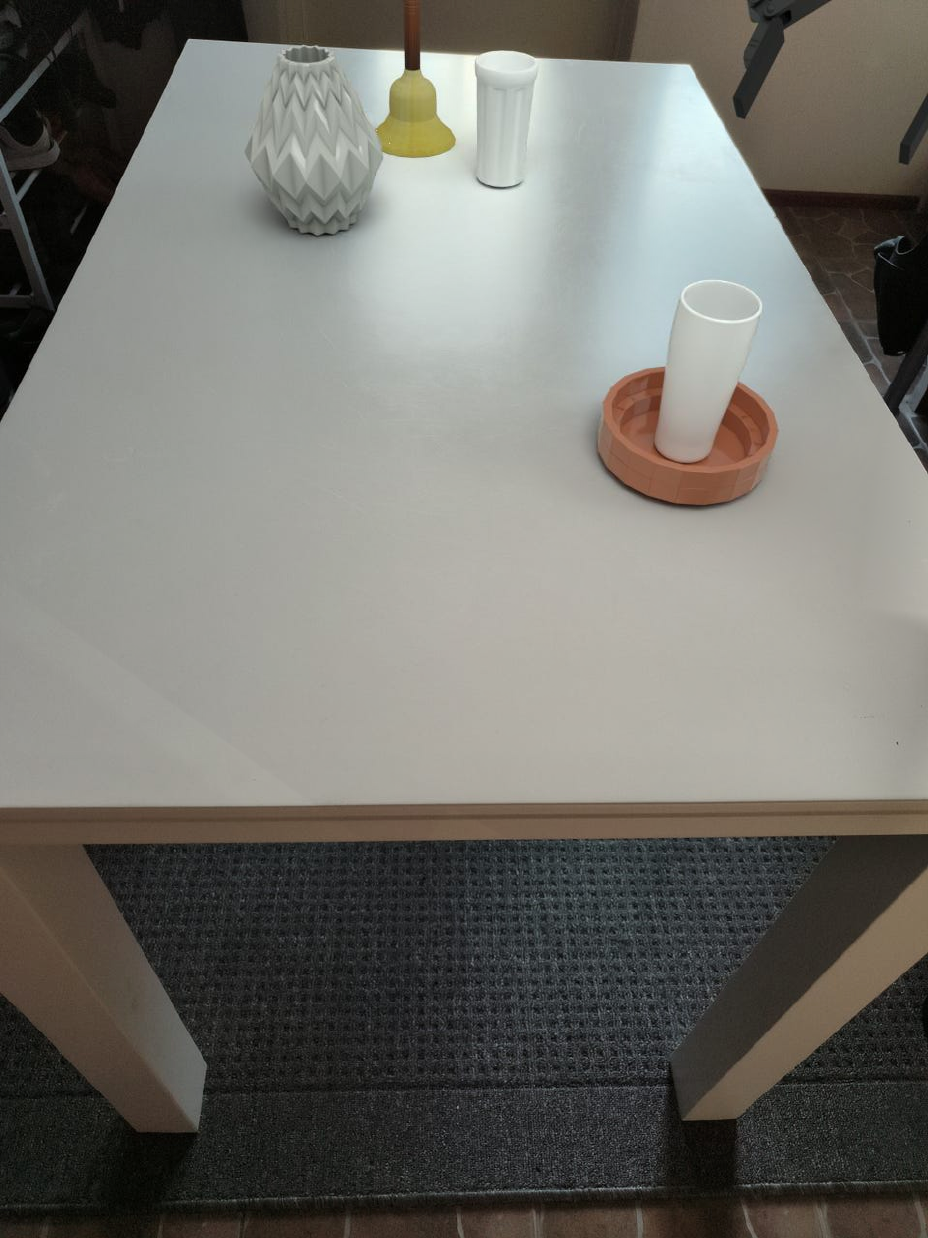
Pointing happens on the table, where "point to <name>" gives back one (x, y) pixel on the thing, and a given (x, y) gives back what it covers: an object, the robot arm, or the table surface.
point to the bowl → (704, 482)
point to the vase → (313, 142)
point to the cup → (503, 114)
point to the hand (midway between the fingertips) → (818, 131)
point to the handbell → (413, 102)
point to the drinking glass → (704, 365)
